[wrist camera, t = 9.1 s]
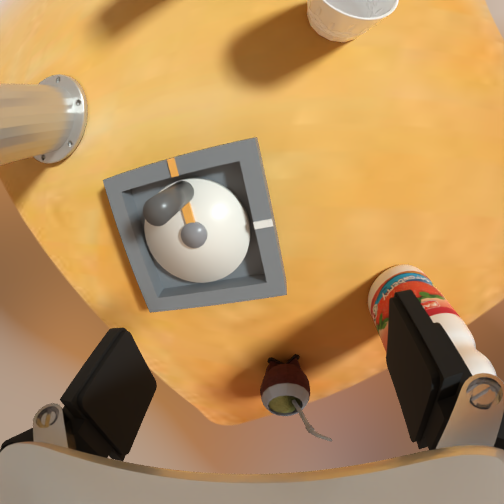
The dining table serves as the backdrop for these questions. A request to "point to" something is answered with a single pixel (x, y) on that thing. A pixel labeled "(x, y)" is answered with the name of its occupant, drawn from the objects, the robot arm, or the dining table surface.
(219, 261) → the dial
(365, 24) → the white cup
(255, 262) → the housing
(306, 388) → the mate gourd
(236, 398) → the dining table surface
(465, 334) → the fruit juice
